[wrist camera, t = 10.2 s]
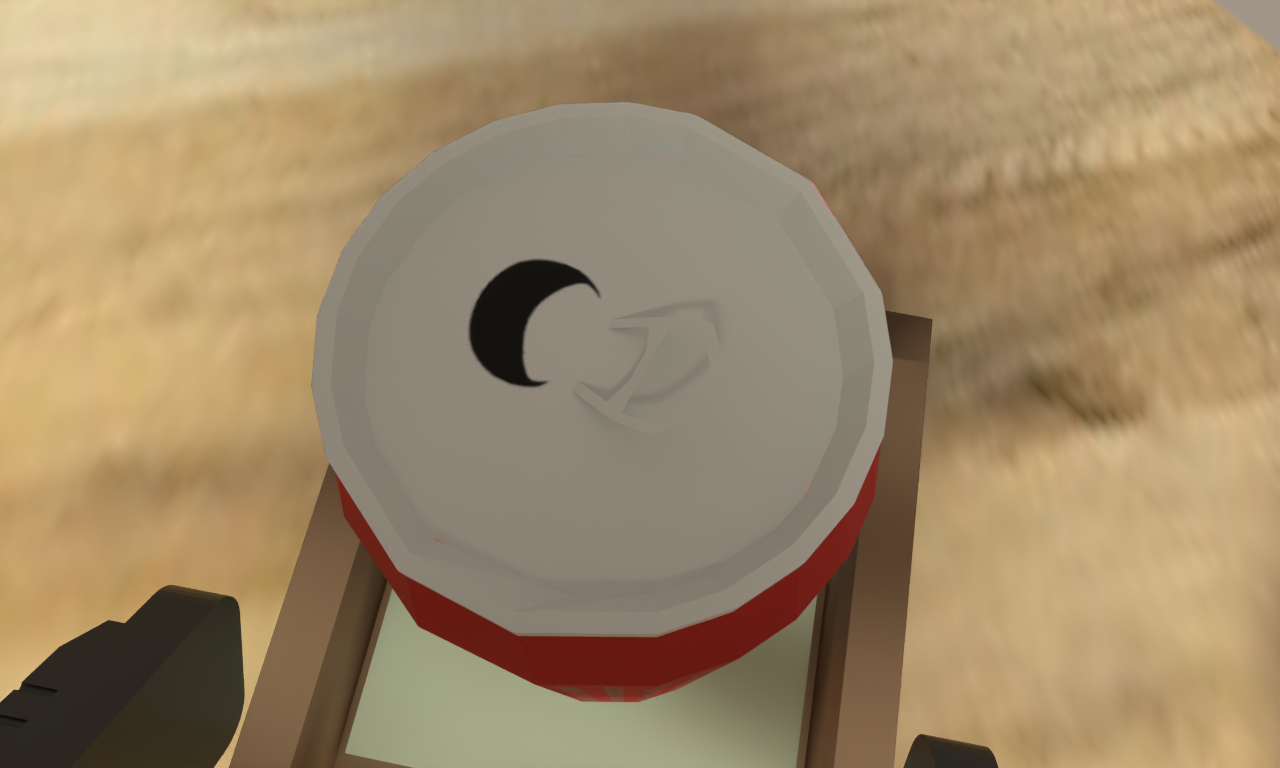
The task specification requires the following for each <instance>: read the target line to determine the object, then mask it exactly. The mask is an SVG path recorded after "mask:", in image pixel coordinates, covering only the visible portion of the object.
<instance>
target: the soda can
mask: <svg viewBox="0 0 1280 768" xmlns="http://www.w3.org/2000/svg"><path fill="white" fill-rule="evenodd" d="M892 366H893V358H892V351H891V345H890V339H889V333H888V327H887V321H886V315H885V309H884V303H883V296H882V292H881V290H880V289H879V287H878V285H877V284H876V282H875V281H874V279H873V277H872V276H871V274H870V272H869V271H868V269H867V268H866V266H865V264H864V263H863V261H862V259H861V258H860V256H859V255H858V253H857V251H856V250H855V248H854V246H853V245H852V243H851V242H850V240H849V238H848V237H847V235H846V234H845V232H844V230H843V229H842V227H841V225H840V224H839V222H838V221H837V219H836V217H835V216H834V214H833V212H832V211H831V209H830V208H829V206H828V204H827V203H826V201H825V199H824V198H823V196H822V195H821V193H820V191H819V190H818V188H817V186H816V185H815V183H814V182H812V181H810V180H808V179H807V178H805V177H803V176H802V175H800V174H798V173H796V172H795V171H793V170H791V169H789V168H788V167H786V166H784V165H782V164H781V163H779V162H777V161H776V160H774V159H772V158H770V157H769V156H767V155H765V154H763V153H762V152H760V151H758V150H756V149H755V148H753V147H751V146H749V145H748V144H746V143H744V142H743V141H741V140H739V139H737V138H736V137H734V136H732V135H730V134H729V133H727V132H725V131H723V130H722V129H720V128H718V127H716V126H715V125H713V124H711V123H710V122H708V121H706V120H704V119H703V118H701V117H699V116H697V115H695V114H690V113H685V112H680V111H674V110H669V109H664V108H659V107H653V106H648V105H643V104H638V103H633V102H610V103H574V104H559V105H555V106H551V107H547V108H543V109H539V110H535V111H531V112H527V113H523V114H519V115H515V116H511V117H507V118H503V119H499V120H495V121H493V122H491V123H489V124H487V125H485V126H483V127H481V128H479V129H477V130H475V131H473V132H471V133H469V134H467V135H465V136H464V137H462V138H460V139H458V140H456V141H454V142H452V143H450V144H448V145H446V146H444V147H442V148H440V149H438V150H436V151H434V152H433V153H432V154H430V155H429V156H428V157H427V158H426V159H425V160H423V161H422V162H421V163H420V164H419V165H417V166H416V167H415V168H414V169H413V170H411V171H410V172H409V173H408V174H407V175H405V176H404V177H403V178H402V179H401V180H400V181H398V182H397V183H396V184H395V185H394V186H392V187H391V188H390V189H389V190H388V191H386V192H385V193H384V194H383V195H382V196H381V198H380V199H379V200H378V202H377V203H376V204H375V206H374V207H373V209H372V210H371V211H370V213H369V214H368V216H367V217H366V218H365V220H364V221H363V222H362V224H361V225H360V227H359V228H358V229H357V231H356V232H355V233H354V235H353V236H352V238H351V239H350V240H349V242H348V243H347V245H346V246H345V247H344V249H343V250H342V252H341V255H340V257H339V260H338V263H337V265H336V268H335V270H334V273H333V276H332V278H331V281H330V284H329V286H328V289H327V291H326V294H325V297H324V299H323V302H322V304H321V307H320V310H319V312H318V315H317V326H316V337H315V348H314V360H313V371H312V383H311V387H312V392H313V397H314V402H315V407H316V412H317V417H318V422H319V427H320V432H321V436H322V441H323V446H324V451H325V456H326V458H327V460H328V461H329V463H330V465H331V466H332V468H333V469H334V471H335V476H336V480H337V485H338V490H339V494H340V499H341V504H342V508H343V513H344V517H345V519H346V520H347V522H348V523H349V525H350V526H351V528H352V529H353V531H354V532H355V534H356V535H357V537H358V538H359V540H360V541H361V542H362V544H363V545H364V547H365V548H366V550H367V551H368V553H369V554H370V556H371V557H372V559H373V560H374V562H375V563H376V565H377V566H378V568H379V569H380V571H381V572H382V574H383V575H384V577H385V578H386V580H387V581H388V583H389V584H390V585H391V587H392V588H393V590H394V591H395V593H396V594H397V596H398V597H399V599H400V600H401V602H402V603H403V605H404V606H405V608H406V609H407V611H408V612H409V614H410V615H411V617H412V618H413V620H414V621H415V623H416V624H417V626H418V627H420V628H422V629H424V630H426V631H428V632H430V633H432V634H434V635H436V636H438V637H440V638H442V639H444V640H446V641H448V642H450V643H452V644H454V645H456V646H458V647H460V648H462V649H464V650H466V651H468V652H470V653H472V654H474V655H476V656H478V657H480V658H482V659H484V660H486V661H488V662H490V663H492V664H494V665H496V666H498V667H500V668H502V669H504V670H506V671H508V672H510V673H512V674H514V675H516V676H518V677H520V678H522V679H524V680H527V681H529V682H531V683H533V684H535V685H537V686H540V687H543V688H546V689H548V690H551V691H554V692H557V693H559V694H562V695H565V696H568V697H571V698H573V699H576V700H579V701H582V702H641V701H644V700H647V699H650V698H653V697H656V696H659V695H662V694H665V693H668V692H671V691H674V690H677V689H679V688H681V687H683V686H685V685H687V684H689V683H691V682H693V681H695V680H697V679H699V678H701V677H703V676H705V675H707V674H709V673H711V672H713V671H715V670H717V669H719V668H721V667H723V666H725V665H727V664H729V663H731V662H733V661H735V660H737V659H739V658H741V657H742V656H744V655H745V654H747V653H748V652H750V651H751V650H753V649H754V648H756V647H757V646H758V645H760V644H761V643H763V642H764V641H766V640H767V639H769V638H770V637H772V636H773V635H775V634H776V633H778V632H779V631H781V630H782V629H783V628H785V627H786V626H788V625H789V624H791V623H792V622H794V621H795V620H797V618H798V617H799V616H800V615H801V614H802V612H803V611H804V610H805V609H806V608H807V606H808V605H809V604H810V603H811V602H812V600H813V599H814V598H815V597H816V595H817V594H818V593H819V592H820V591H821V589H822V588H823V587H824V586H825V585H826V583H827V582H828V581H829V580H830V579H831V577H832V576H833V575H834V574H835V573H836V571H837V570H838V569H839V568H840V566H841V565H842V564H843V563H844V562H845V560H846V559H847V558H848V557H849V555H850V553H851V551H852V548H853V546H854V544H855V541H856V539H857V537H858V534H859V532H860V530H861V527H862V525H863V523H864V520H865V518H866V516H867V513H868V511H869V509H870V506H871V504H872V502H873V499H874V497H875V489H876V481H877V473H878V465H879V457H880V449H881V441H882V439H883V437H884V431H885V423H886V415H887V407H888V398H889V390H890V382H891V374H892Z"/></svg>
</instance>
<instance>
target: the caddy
mask: <svg viewBox="0 0 1280 768" xmlns="http://www.w3.org/2000/svg"><path fill="white" fill-rule="evenodd" d="M885 315H886V321H887V327H888V333H889V339H890V345H891V351H892V358H893V366H892V374H891V382H890V390H889V398H888V407H887V415H886V423H885V431H884V437H883V439H882V441H881V449H880V457H879V465H878V473H877V481H876V489H875V497H874V499H873V502H872V504H871V506H870V509H869V511H868V513H867V516H866V518H865V520H864V523H863V525H862V527H861V530H860V532H859V534H858V537H857V539H856V541H855V544H854V546H853V548H852V551H851V553H850V555H849V557H848V558H847V559H846V560H845V562H844V563H843V564H842V565H841V566H840V568H839V569H838V570H837V571H836V573H835V574H834V575H833V576H832V577H831V579H830V580H829V581H828V582H827V583H826V585H825V586H824V587H823V588H822V589H821V591H820V592H819V593H818V594H817V595H816V597H815V598H814V599H813V600H812V602H811V603H810V604H809V605H808V606H807V608H806V609H805V610H804V611H803V612H802V614H801V615H800V616H799V617H798V618H797V620H795V621H794V622H792V623H791V624H789V625H788V626H786V627H785V628H783V629H782V630H781V631H779V632H778V633H776V634H775V635H773V636H772V637H770V638H769V639H767V640H766V641H764V642H763V643H761V644H760V645H758V646H757V647H756V648H754V649H753V650H751V651H750V652H748V653H747V654H745V655H744V656H742V657H741V658H739V659H737V660H735V661H733V662H731V663H729V664H727V665H725V666H723V667H721V668H719V669H717V670H715V671H713V672H711V673H709V674H707V675H705V676H703V677H701V678H699V679H697V680H695V681H693V682H691V683H689V684H687V685H685V686H683V687H681V688H679V689H677V690H674V691H671V692H668V693H665V694H662V695H659V696H656V697H653V698H650V699H647V700H644V701H641V702H582V701H579V700H576V699H573V698H571V697H568V696H565V695H562V694H559V693H557V692H554V691H551V690H548V689H546V688H543V687H540V686H537V685H535V684H533V683H531V682H529V681H527V680H524V679H522V678H520V677H518V676H516V675H514V674H512V673H510V672H508V671H506V670H504V669H502V668H500V667H498V666H496V665H494V664H492V663H490V662H488V661H486V660H484V659H482V658H480V657H478V656H476V655H474V654H472V653H470V652H468V651H466V650H464V649H462V648H460V647H458V646H456V645H454V644H452V643H450V642H448V641H446V640H444V639H442V638H440V637H438V636H436V635H434V634H432V633H430V632H428V631H426V630H424V629H422V628H420V627H418V626H417V624H416V623H415V621H414V620H413V618H412V617H411V615H410V614H409V612H408V611H407V609H406V608H405V606H404V605H403V603H402V602H401V600H400V599H399V597H398V596H397V594H396V593H395V591H394V590H393V588H392V587H391V585H390V584H389V583H388V581H387V580H386V578H385V577H384V575H383V574H382V572H381V571H380V569H379V568H378V566H377V565H376V563H375V562H374V560H373V559H372V557H371V556H370V554H369V553H368V551H367V550H366V548H365V547H364V545H363V544H362V542H361V541H360V540H359V538H358V537H357V535H356V534H355V532H354V531H353V529H352V528H351V526H350V525H349V523H348V522H347V520H346V519H345V517H344V513H343V508H342V504H341V499H340V494H339V490H338V485H337V480H336V476H335V471H334V469H333V468H332V466H331V465H330V463H329V466H328V469H327V472H326V475H325V478H324V481H323V484H322V487H321V490H320V493H319V496H318V499H317V502H316V505H315V508H314V511H313V514H312V517H311V520H310V524H309V527H308V530H307V533H306V536H305V539H304V542H303V545H302V548H301V551H300V554H299V557H298V560H297V563H296V566H295V569H294V572H293V575H292V578H291V581H290V584H289V587H288V590H287V593H286V596H285V599H284V602H283V605H282V608H281V611H280V614H279V617H278V621H277V624H276V627H275V630H274V633H273V636H272V639H271V642H270V645H269V648H268V651H267V654H266V657H265V660H264V663H263V666H262V669H261V672H260V675H259V678H258V681H257V684H256V687H255V690H254V693H253V696H252V699H251V702H250V705H249V708H248V711H247V714H246V718H245V721H244V724H243V727H242V730H241V733H240V736H239V739H238V742H237V745H236V748H235V751H234V754H233V757H232V760H231V763H230V766H229V768H894V757H895V745H896V734H897V722H898V711H899V699H900V688H901V676H902V665H903V653H904V642H905V630H906V619H907V607H908V596H909V584H910V573H911V561H912V550H913V538H914V526H915V515H916V503H917V492H918V480H919V469H920V457H921V446H922V434H923V423H924V411H925V400H926V388H927V377H928V365H929V354H930V342H931V331H932V319H928V318H923V317H917V316H912V315H906V314H901V313H895V312H890V311H885Z"/></svg>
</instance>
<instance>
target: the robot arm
mask: <svg viewBox="0 0 1280 768" xmlns="http://www.w3.org/2000/svg"><path fill="white" fill-rule="evenodd" d="M243 704H244V675H243V658H242V641H241V624H240V610H239V605H238V602H237V601H236V599H235V598H233V597H231V596H226V595H221V594H216V593H211V592H206V591H201V590H196V589H190V588H185V587H180V586H175V585H168V586H165V587H163V588H161V589H160V590H158V591H157V592H156V593H155V594H154V595H153V596H152V597H151V598H150V599H149V600H148V601H147V602H146V603H145V604H144V605H143V606H142V607H141V608H140V609H139V610H138V611H137V612H136V613H135V614H134V615H133V616H132V617H131V618H130V619H129V620H128V621H127V622H126V623H120V622H115V621H110V620H108V621H106V622H104V623H102V624H101V625H99V626H97V627H95V628H93V629H91V630H90V631H88V632H86V633H84V634H82V635H80V636H79V637H77V638H75V639H73V640H71V641H69V642H68V643H66V644H64V645H62V646H60V647H59V648H58V649H57V650H56V651H55V652H53V653H52V654H51V655H50V656H49V657H48V658H47V659H46V660H45V661H44V662H43V663H42V664H41V665H40V666H39V667H38V668H36V669H35V670H34V671H33V672H32V673H31V674H30V675H29V676H28V677H27V678H26V679H25V680H24V681H23V682H22V685H21V687H20V689H19V690H13V691H12V692H11V693H10V694H9V695H8V696H7V697H6V698H5V699H4V700H2V701H1V702H0V768H214V766H215V765H216V764H217V762H218V761H219V759H220V758H221V756H222V755H223V753H224V752H225V750H226V749H227V747H228V746H229V744H230V742H231V740H232V738H233V736H234V734H235V732H236V729H237V727H238V724H239V721H240V718H241V714H242V710H243ZM904 768H998V765H997V762H996V759H995V757H994V755H993V753H992V751H991V750H990V749H989V748H987V747H985V746H980V745H975V744H970V743H965V742H959V741H954V740H949V739H944V738H939V737H934V736H929V735H924V734H920V735H918V736H917V737H916V738H915V740H914V742H913V744H912V746H911V749H910V752H909V754H908V757H907V760H906V762H905V765H904Z"/></svg>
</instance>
